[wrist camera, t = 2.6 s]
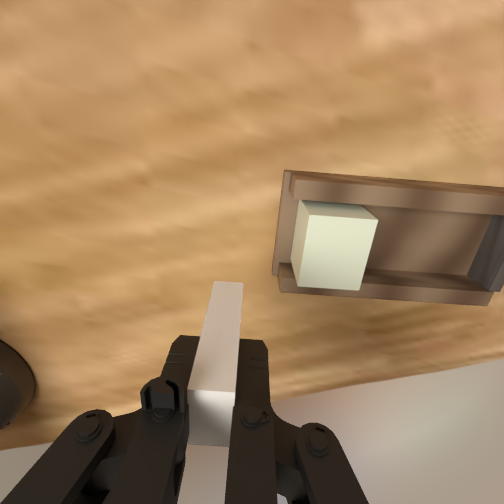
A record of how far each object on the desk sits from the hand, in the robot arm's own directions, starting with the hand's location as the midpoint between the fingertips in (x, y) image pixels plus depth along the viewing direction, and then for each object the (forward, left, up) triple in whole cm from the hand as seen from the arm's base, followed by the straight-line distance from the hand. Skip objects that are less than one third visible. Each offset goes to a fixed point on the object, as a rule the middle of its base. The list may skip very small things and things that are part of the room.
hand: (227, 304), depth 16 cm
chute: (+14, 0, -14) cm, 19 cm away
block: (+8, 0, -12) cm, 15 cm away
